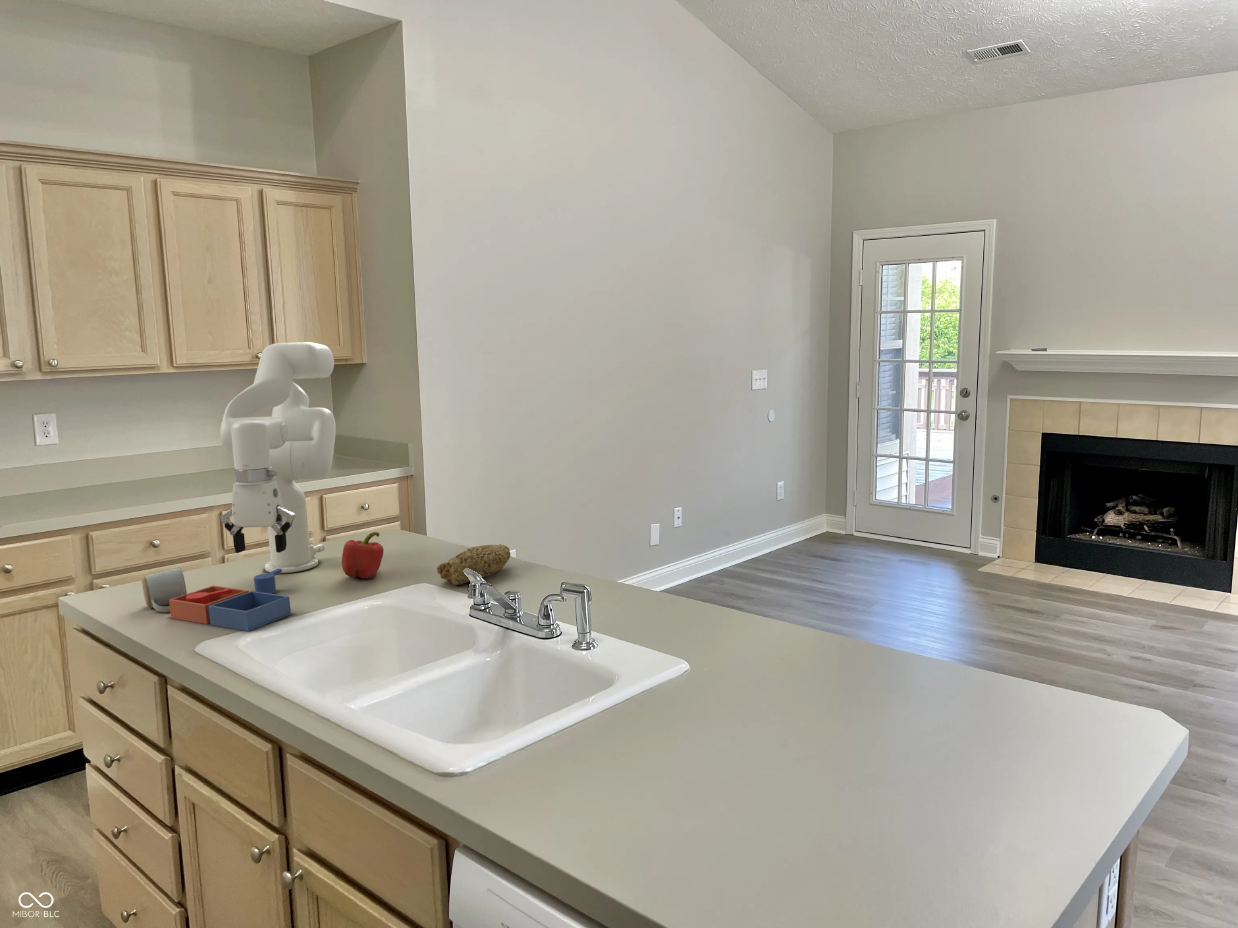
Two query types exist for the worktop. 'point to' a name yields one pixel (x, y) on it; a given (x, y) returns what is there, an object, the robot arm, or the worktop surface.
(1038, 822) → the worktop surface
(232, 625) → the blue bin
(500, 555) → the sponge
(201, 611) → the red bin
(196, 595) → the red scoop
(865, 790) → the worktop surface
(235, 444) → the robot arm
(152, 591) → the ceramic mug
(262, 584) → the blue scoop
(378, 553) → the vegetable
